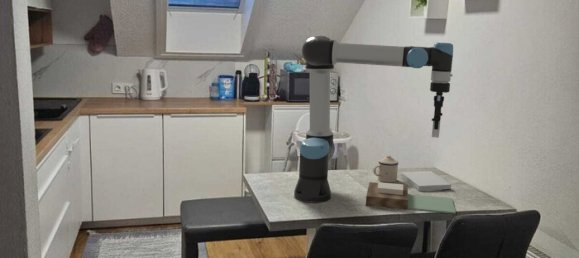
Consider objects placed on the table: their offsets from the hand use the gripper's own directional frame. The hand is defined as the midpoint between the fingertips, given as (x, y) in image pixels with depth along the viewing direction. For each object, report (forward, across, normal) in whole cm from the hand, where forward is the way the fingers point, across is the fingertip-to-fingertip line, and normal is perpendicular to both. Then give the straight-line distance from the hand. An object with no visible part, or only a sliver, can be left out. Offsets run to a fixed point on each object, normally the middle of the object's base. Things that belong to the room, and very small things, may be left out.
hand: (435, 134), depth 213 cm
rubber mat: (+27, -8, 0) cm, 28 cm away
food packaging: (+28, +21, +3) cm, 35 cm away
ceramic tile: (+23, -9, +16) cm, 29 cm away
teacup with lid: (+28, +20, +21) cm, 40 cm away
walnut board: (+27, -9, +17) cm, 33 cm away
